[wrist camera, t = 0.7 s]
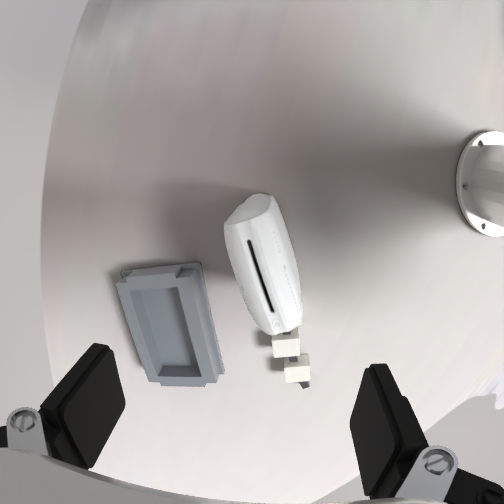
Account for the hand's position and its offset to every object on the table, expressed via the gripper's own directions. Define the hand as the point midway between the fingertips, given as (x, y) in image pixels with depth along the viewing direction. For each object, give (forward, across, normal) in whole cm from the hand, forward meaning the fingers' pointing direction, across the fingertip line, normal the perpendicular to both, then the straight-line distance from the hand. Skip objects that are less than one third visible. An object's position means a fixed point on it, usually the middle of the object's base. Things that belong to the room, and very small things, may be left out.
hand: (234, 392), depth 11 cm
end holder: (+25, +10, +12) cm, 29 cm away
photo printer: (+24, -1, 0) cm, 24 cm away
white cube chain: (+24, -4, +13) cm, 28 cm away
